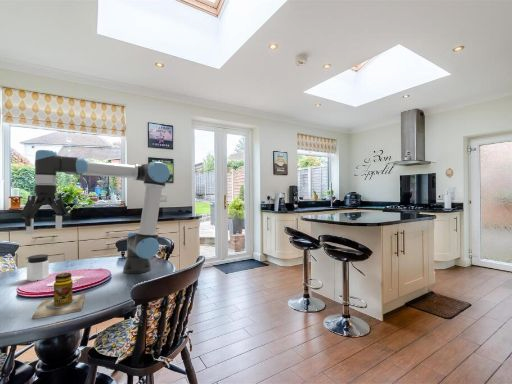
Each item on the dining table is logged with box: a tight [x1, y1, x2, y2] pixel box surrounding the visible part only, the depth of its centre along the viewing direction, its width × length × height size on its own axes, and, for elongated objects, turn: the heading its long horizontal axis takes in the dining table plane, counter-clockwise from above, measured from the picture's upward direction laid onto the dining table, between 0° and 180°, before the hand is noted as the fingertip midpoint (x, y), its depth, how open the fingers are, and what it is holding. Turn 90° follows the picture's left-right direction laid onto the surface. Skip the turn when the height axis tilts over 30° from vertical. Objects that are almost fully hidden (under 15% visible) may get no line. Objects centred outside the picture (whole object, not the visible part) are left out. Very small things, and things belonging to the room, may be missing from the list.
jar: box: [26, 254, 50, 282], centre depth 138 cm, size 9×8×12 cm
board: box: [32, 293, 86, 320], centre depth 105 cm, size 15×15×1 cm
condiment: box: [47, 272, 77, 308], centre depth 106 cm, size 7×8×12 cm
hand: (45, 231), depth 117 cm, fingers open, 13 cm apart
